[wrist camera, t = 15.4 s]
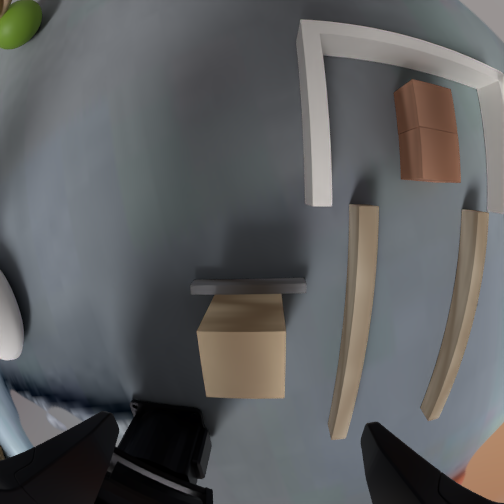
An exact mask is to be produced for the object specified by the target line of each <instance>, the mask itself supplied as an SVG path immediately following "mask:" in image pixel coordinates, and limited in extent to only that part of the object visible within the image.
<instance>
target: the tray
mask: <svg viewBox="0 0 504 504" xmlns="http://www.w3.org/2000/svg"><path fill="white" fill-rule="evenodd" d="M296 47H297V58H298V69H299V81H300V95H301V110H302V128H303V150H304V182H305V204H307V205H310V206H331V207H332V169H331V144H330V126H329V112H328V99H327V88H326V78H325V69H324V61H323V56H334V57H344V58H352V59H360V60H367V61H373V62H379V63H384V64H390V65H395V66H399V67H404V68H408V69H413V70H417V71H421V72H424V73H428V74H432V75H435V76H439V77H442V78H445V79H449V80H452V81H455V82H458V83H461V84H463V85H466V86H469V87H472V88H474V89H477V93H478V98H479V103H480V109H481V115H482V122H483V129H484V138H485V148H486V162H487V211H488V212H494V213H500V214H504V74H503V73H502V72H500V71H498V70H496V69H494V68H492V67H490V66H488V65H486V64H484V63H482V62H480V61H477V60H475V59H473V58H470V57H468V56H466V55H463V54H461V53H458V52H456V51H453V50H450V49H448V48H445V47H442V46H439V45H436V44H433V43H430V42H427V41H424V40H420V39H417V38H413V37H410V36H406V35H402V34H398V33H394V32H390V31H385V30H381V29H376V28H370V27H365V26H359V25H353V24H346V23H338V22H329V21H318V20H303V19H300V24H299V29H298V35H297V40H296Z"/></svg>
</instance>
